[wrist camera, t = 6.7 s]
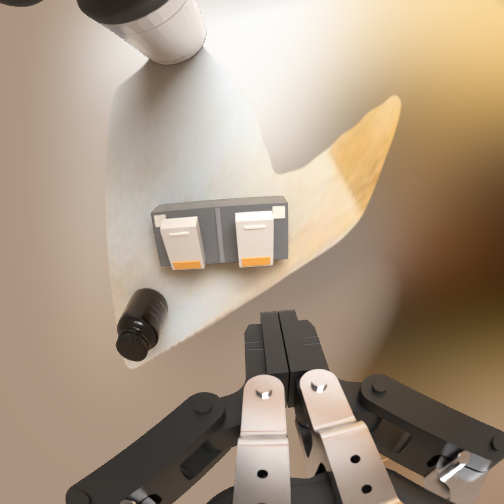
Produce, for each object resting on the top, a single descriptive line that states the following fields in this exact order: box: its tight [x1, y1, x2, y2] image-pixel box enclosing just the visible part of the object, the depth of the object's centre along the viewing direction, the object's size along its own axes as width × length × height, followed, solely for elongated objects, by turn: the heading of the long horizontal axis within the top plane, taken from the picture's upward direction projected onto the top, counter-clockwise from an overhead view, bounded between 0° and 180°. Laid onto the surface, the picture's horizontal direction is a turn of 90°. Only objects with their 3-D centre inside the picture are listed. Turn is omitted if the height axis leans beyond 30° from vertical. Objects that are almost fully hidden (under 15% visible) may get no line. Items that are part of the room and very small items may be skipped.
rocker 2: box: [235, 211, 274, 267], centre depth 35 cm, size 7×4×2 cm, turn 3°
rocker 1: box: [160, 216, 206, 270], centre depth 35 cm, size 7×4×2 cm, turn 3°
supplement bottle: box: [116, 288, 168, 361], centre depth 40 cm, size 7×7×12 cm
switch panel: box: [151, 196, 288, 267], centre depth 38 cm, size 8×18×4 cm, turn 93°
